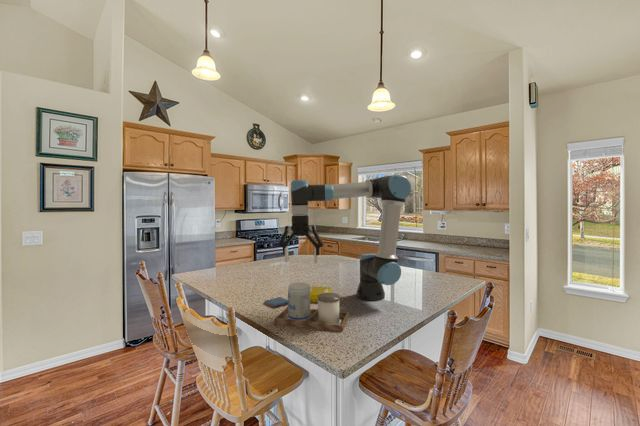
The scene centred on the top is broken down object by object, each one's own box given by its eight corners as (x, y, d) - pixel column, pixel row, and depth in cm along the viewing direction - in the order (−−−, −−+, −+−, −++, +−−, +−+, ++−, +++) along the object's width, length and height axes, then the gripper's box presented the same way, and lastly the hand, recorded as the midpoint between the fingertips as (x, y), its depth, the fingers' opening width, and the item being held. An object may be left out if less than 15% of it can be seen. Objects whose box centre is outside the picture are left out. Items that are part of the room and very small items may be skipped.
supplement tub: (283, 319, 129) (283, 285, 128) (299, 313, 136) (298, 280, 135) (299, 325, 122) (299, 289, 122) (315, 318, 130) (314, 284, 129)
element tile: (326, 304, 151) (326, 294, 151) (298, 302, 155) (298, 292, 155) (332, 295, 166) (332, 286, 166) (306, 293, 169) (306, 284, 169)
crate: (348, 319, 131) (348, 312, 131) (342, 333, 117) (342, 325, 117) (287, 313, 138) (287, 306, 138) (274, 325, 124) (274, 318, 124)
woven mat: (280, 299, 159) (280, 296, 158) (292, 304, 151) (292, 300, 151) (262, 304, 152) (262, 300, 151) (274, 309, 144) (274, 305, 144)
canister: (341, 319, 129) (341, 293, 128) (337, 328, 120) (337, 300, 119) (320, 316, 131) (320, 292, 131) (314, 325, 122) (314, 298, 122)
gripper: (329, 214, 134) (330, 261, 135) (276, 214, 140) (278, 259, 141) (325, 215, 127) (326, 264, 128) (270, 215, 133) (272, 263, 134)
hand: (301, 262), depth 135 cm, fingers open, 13 cm apart
